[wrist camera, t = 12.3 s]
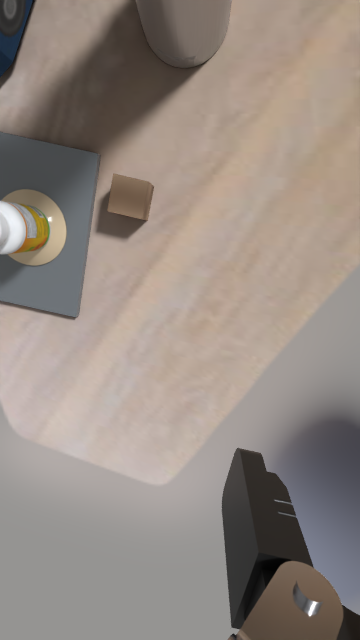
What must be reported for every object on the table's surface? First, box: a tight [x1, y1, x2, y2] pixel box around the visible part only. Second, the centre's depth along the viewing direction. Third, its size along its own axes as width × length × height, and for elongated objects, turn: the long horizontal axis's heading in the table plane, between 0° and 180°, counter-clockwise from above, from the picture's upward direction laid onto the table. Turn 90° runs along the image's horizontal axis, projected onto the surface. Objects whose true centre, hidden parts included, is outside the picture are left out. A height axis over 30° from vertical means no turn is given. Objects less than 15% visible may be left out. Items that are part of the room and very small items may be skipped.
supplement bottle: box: [0, 201, 51, 254], centre depth 36 cm, size 5×5×10 cm
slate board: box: [0, 132, 101, 317], centre depth 41 cm, size 20×14×1 cm
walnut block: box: [107, 174, 154, 221], centre depth 38 cm, size 4×4×4 cm
